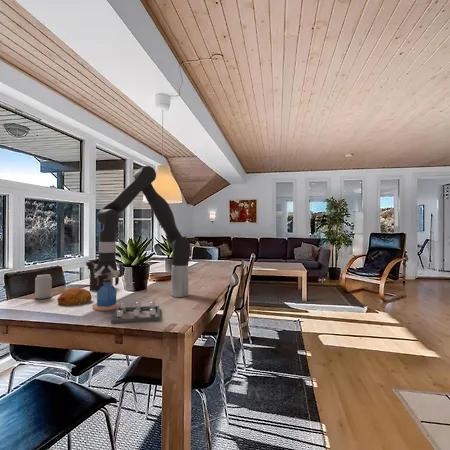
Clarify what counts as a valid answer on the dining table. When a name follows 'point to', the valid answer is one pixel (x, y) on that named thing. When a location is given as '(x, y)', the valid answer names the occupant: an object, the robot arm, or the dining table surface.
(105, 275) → the black coffee grinder
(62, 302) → the croissant
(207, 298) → the dining table surface
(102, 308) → the peach round disc
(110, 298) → the perfume bottle
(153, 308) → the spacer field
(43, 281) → the can
